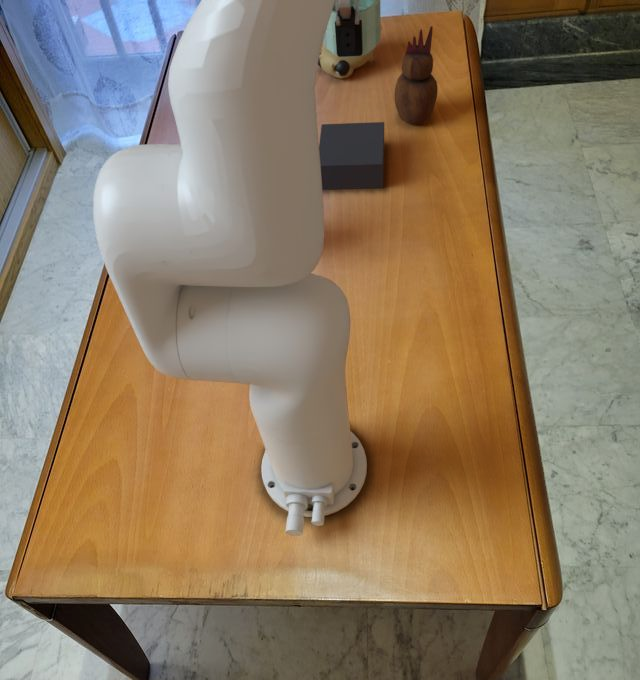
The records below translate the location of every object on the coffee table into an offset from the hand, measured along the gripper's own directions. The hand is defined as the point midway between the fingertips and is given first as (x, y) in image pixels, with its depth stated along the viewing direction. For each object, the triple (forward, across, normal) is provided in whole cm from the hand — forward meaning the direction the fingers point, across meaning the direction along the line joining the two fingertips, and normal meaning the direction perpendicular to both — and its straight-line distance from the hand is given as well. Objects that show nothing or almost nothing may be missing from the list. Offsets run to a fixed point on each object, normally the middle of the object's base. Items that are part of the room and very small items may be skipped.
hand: (351, 35), depth 81 cm
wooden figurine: (+23, -15, +9) cm, 29 cm away
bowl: (+1, 0, 0) cm, 1 cm away
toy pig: (+23, -31, -3) cm, 39 cm away
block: (+23, -3, -1) cm, 23 cm away
